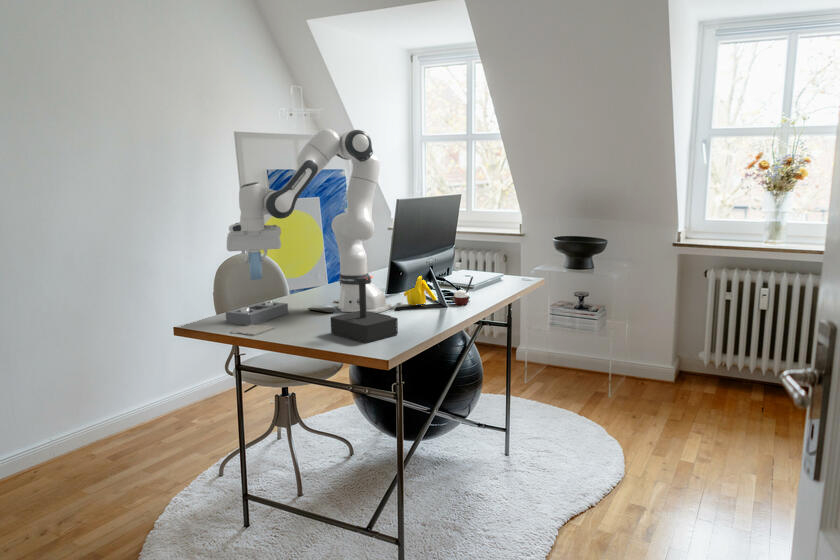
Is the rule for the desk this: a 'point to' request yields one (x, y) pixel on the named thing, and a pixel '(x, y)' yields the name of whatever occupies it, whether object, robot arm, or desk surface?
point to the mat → (253, 329)
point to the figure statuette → (419, 293)
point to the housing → (257, 313)
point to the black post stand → (364, 321)
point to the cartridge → (255, 264)
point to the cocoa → (462, 296)
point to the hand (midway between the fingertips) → (255, 261)
